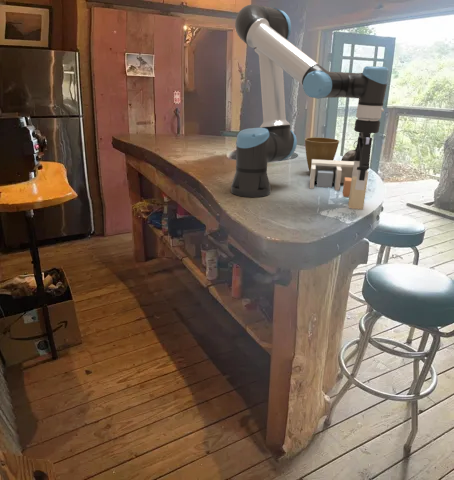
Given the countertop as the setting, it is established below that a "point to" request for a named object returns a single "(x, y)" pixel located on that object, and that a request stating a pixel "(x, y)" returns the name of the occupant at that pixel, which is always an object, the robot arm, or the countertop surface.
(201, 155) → the countertop surface
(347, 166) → the shelf lanes
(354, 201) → the corded block
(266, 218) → the countertop surface
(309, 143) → the plant pot
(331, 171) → the slate block
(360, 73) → the robot arm
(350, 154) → the alarm clock
